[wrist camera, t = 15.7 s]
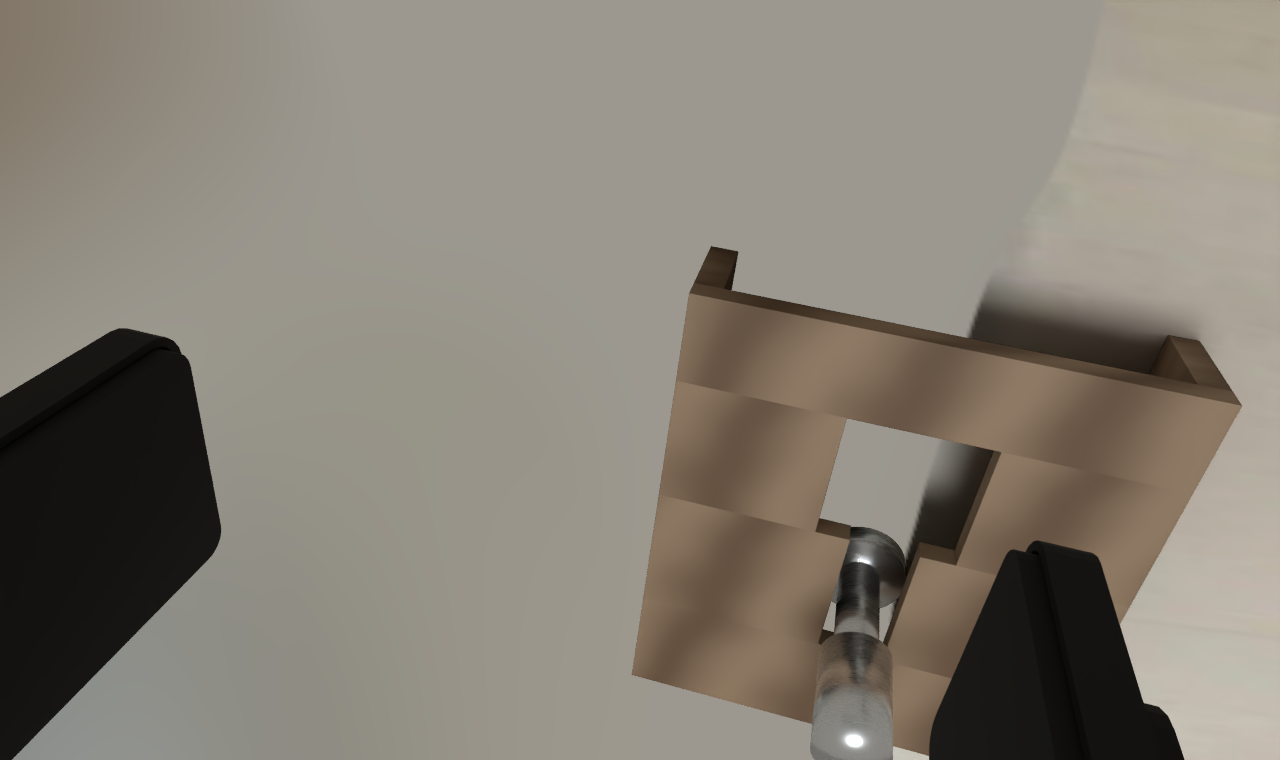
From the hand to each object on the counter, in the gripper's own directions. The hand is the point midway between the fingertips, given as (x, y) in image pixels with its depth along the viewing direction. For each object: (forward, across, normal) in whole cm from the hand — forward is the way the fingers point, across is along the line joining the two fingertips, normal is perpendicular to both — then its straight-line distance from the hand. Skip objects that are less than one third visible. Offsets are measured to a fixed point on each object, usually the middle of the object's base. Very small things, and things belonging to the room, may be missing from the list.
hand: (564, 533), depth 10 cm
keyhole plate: (+28, -8, +20) cm, 36 cm away
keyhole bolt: (+28, -8, +23) cm, 37 cm away
